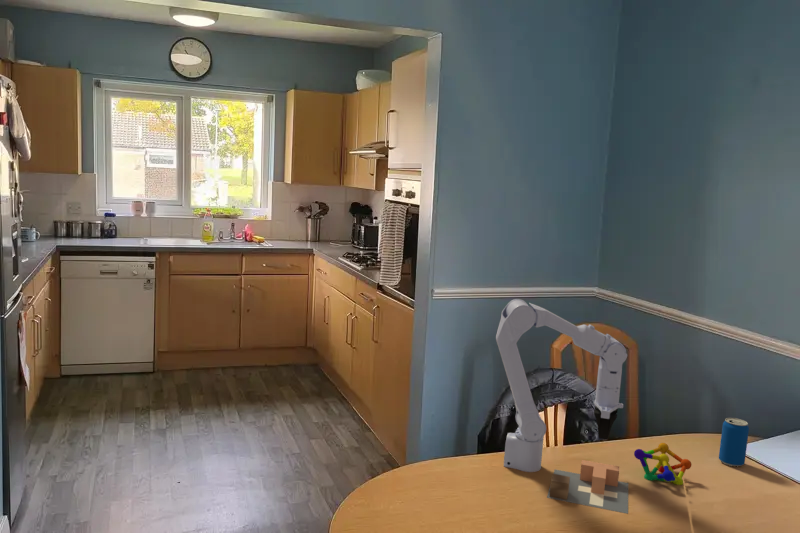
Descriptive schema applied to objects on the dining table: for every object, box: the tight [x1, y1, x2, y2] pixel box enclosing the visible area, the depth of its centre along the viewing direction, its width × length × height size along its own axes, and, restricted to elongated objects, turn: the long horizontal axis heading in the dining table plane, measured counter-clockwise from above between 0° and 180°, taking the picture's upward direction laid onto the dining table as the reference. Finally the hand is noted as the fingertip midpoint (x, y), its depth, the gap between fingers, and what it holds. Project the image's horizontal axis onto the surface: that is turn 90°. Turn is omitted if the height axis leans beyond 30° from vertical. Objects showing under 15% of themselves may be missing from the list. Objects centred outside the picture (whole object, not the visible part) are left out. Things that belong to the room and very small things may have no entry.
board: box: [546, 469, 629, 515], centre depth 163 cm, size 18×17×1 cm
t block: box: [579, 459, 620, 495], centre depth 166 cm, size 9×9×4 cm
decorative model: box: [633, 442, 692, 486], centre depth 174 cm, size 13×9×15 cm
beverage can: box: [718, 417, 750, 468], centre depth 187 cm, size 6×6×12 cm
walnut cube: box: [549, 473, 570, 500], centre depth 160 cm, size 4×4×4 cm
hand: (603, 436), depth 174 cm, fingers closed
